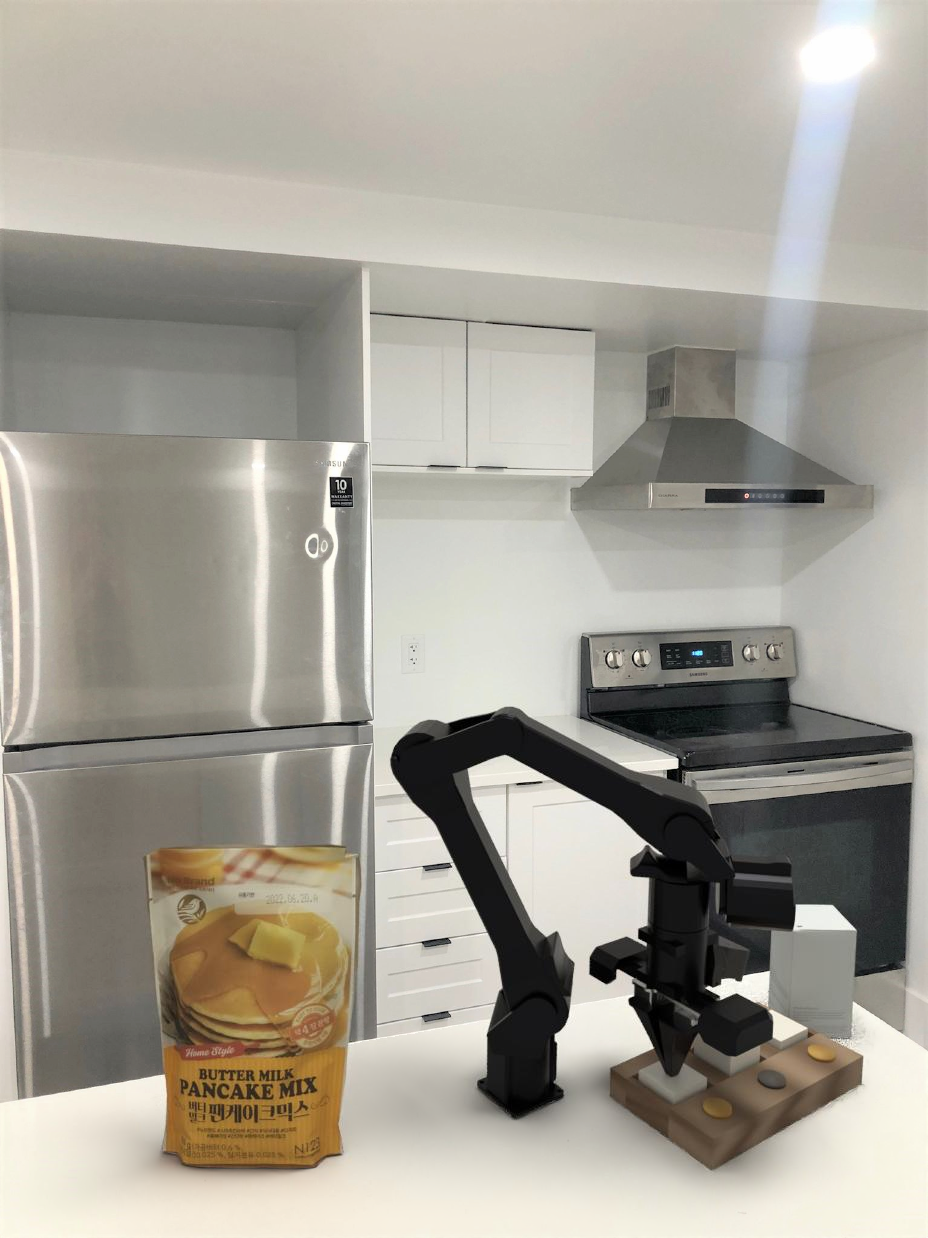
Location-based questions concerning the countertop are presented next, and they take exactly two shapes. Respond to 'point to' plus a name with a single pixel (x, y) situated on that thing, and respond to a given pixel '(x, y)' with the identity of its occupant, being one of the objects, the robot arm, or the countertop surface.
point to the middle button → (726, 1058)
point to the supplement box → (815, 970)
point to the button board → (741, 1096)
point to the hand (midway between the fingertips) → (672, 1074)
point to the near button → (673, 1082)
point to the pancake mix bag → (254, 998)
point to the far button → (786, 1032)
